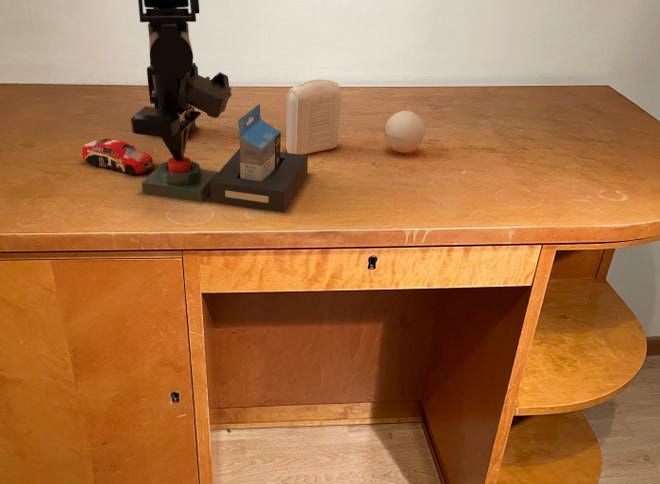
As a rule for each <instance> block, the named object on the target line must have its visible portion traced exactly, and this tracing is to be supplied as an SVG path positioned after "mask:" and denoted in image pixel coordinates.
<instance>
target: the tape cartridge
mask: <svg viewBox="0 0 660 484" xmlns="http://www.w3.org/2000/svg"><path fill="white" fill-rule="evenodd" d="M250 119H252V121H251V122H249V121H250ZM248 122H249V123H248ZM237 123H238V133H239V148H240V179H244V180H252V181H259V182H266V183H268V182H269V180H270V179H271V177H272V176H273V175H274V173H275V172H276V170H277V169H278V168H279V166H280V152H281V142H282V141H281V135H282V132H281V131H280V130H278V129H277V128H275V127H274V126H272V125H271V124H269V123H267V122H266V121H264V120H263V119H262V118H261V104H260V103H258V104H256V106H255V107H253V108H252V109H250V110H249V111H248V112H247V113H245V114H244V115H243V116H242V117H241V118H239V119H238V120H237ZM247 123H248V124H247Z"/></svg>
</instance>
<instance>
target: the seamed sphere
mask: <svg viewBox="0 0 660 484" xmlns="http://www.w3.org/2000/svg"><path fill="white" fill-rule="evenodd" d="M382 134H384V139H385V142H386V144H387V146H389V148H391V149H392V150H393V151H395V152H397V153H401V154H406V153H410V152H413V151H415V150H416V149H417V148H418V147H420V145H421V144H422V142H423V140H424V137H425V124H424V122H423V119H422V118H421V117H420V116H419V115H418V114H417V113H415V112H413V111H410V110H401V111H398V112H395V113H394V114H393V115H392V116H390V117H389V119H388V120H387V121H386V123H385V128H384V132H381V133H376V134H375V136H377V135H382Z"/></svg>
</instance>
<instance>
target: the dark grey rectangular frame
mask: <svg viewBox="0 0 660 484" xmlns="http://www.w3.org/2000/svg"><path fill="white" fill-rule="evenodd" d="M308 167H309V154H302V155H300V154H293V153H288V152H283V151H280V166H279V168H278V169H277V170H276V172H275V173H274V175H273V176H272V177H271V179H270V180H269V182H268V183H266V182H259V181H252V180H244V179H240V147H239V148H238V149H237V150H236V151H235V153H234V154H233V155H232V156H231V157H230V159H228V161H227V162H226V163H225V164H224V165H223V166H222V168H220V170H219V171H217V172H218V173H217V175H216V176H215V177H214V178H213V179H212V180H211V181H210V187H211V191H210V202H211V203H213V204H221V205H229V206H234V207H235V206H236V207H243V208H249V209H256V210H263V211H264V210H265V211H271V212H275V213H276V212H277V213H285V211H286V210H287V208H288V207H289V205H290V204H291V202H292V200H293V199H294V198H295V197H296V196H295V195H296V194H297V192H298V191H299V189H300V187H301V186H302V184H303V183H304V181H305V180H306V178H307V177H308V171H309V170H308Z"/></svg>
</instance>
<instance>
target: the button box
mask: <svg viewBox="0 0 660 484" xmlns="http://www.w3.org/2000/svg"><path fill="white" fill-rule="evenodd" d="M218 172H219V171H217V170H211V169H210V170H209V169H201V165H200V164H199V163H198V162H196V161H194V160H191V171H188V172H185V173H174V172H170V171H169V169H168V161H165V162H163V163H160V164H159V166H158V167H156V169H155V170H154V171H152V173H150V175H148V176H147V177H146V178H145V179H144V180H143V181H142V182H141V188H142V194H145V195H152V196H158V197H164V198H172V199H178V200H179V199H180V200H186V201H192V202H199V203H201V202H203V201H204V200H205V198H207V195H208V194H210V193H211V187H210V181H211V180H212V179H213V178H214V177H215V176H216V175H217V173H218Z"/></svg>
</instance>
